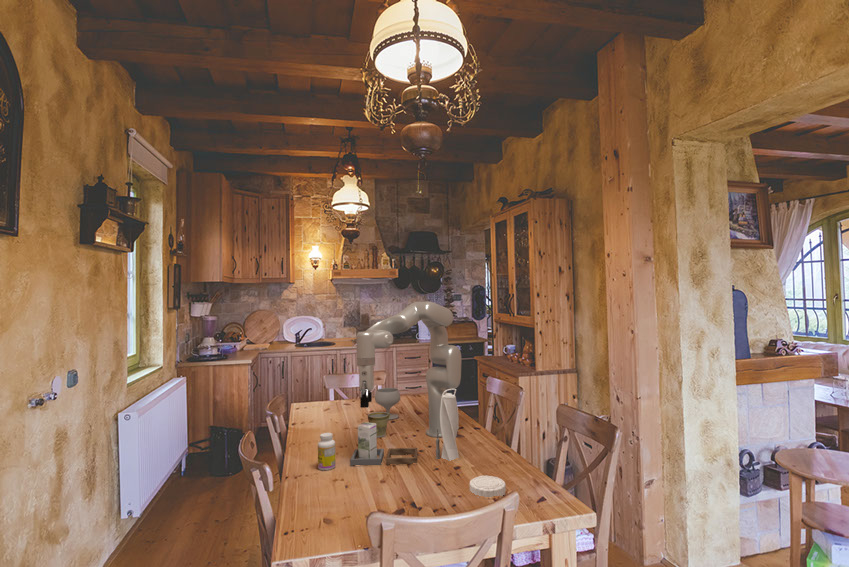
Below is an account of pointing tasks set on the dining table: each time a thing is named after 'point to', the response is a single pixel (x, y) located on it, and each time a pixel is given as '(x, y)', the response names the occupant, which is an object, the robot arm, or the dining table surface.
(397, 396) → the chalice
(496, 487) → the mooncake
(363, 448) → the syrup box
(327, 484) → the dining table surface
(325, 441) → the supplement bottle
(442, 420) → the skyscraper
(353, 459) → the grey frame
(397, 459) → the walnut frame
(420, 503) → the dining table surface
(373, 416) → the ceramic cup
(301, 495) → the dining table surface
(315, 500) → the dining table surface
